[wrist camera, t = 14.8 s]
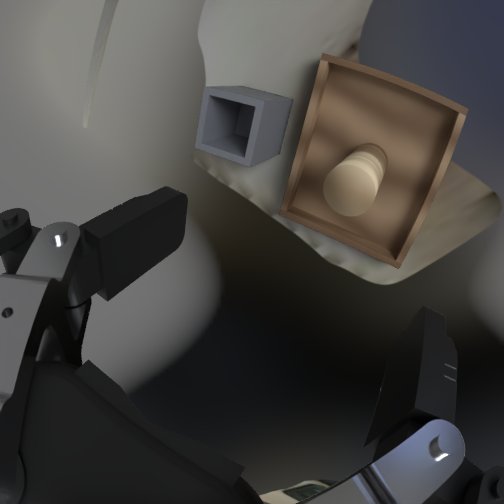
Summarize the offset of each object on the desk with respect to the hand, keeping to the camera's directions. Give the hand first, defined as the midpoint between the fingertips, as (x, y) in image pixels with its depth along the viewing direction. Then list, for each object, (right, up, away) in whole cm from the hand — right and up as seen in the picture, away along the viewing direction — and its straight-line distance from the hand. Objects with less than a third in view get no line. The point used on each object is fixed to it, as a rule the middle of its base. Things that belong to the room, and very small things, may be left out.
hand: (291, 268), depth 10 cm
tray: (+12, +11, +24) cm, 29 cm away
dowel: (+12, +11, +23) cm, 28 cm away
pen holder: (0, +17, +28) cm, 33 cm away
